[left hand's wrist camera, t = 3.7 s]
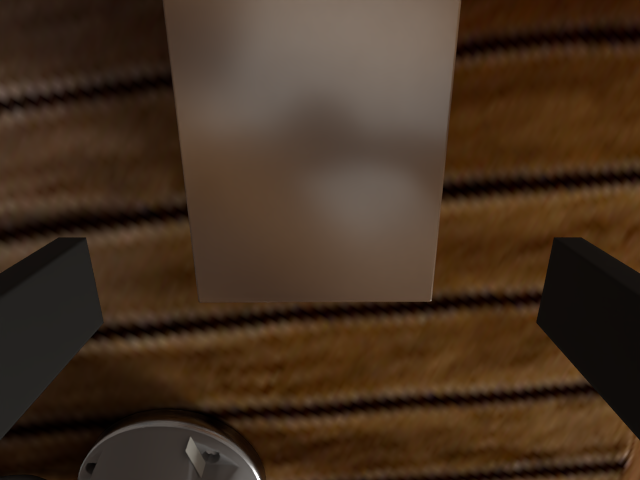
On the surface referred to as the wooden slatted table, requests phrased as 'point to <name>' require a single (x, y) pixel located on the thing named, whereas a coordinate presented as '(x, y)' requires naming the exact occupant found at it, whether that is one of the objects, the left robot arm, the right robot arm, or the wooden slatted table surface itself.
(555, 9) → the wooden slatted table surface
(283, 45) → the cabinet
